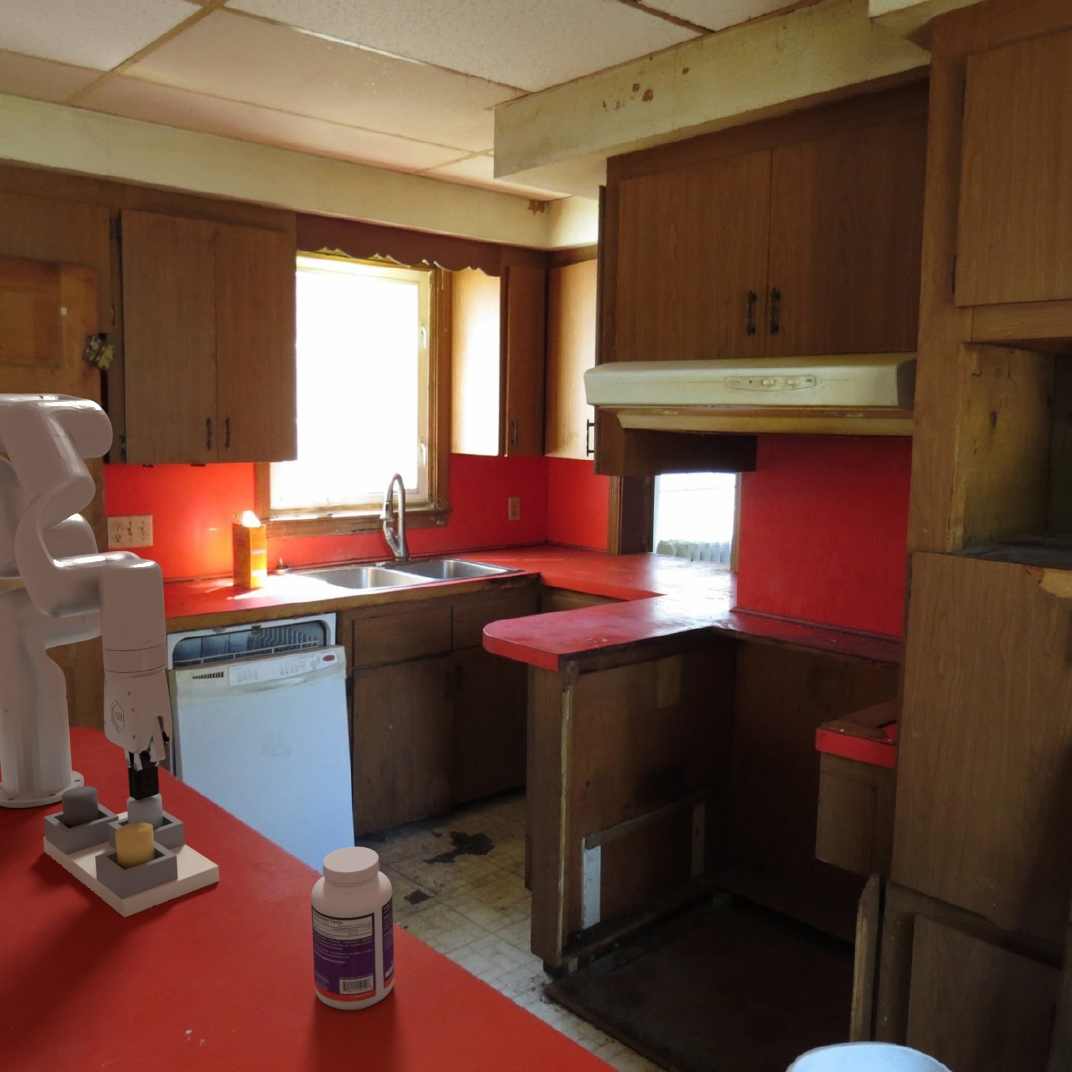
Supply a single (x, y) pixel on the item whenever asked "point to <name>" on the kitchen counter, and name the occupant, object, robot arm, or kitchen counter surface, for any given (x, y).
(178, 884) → the console
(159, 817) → the slate button
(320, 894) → the pill bottle
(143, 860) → the mustard button
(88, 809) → the charcoal button
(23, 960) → the kitchen counter surface
